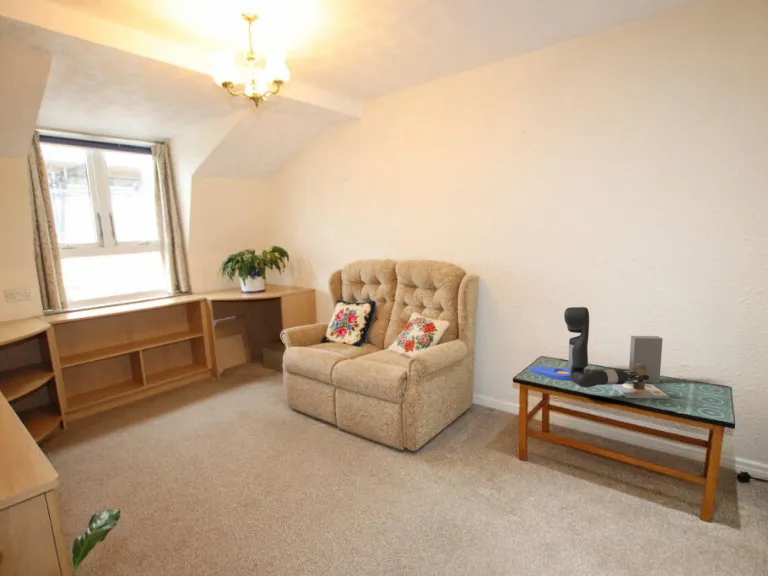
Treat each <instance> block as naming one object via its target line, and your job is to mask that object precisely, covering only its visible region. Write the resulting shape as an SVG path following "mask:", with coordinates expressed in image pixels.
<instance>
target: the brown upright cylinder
mask: <svg viewBox="0 0 768 576" xmlns="http://www.w3.org/2000/svg"><path fill="white" fill-rule="evenodd" d="M634 374H636V375H646V365H644V364H635V365H634ZM634 377H635V376H634ZM632 384H633V388H634V389H637V390H644V389H645V384H646V382H645V380H643V382H642V383H636V384H634V383H633V382H632Z"/></svg>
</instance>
